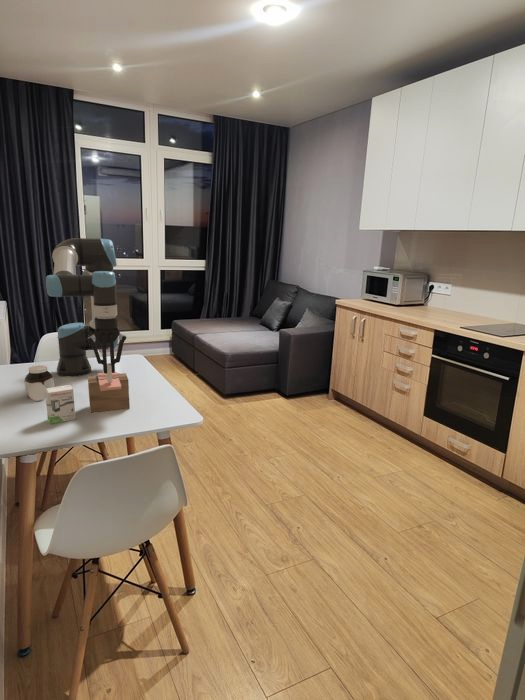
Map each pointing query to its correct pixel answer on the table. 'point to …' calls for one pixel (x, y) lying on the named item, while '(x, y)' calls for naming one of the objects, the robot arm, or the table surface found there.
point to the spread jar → (38, 382)
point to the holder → (108, 394)
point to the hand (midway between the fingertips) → (109, 381)
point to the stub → (109, 384)
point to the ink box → (60, 404)
